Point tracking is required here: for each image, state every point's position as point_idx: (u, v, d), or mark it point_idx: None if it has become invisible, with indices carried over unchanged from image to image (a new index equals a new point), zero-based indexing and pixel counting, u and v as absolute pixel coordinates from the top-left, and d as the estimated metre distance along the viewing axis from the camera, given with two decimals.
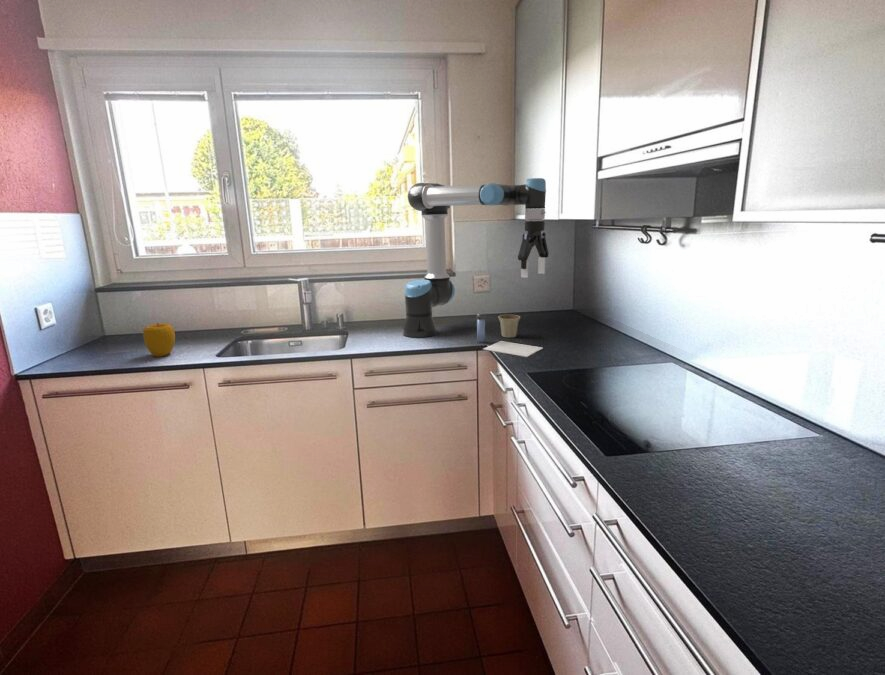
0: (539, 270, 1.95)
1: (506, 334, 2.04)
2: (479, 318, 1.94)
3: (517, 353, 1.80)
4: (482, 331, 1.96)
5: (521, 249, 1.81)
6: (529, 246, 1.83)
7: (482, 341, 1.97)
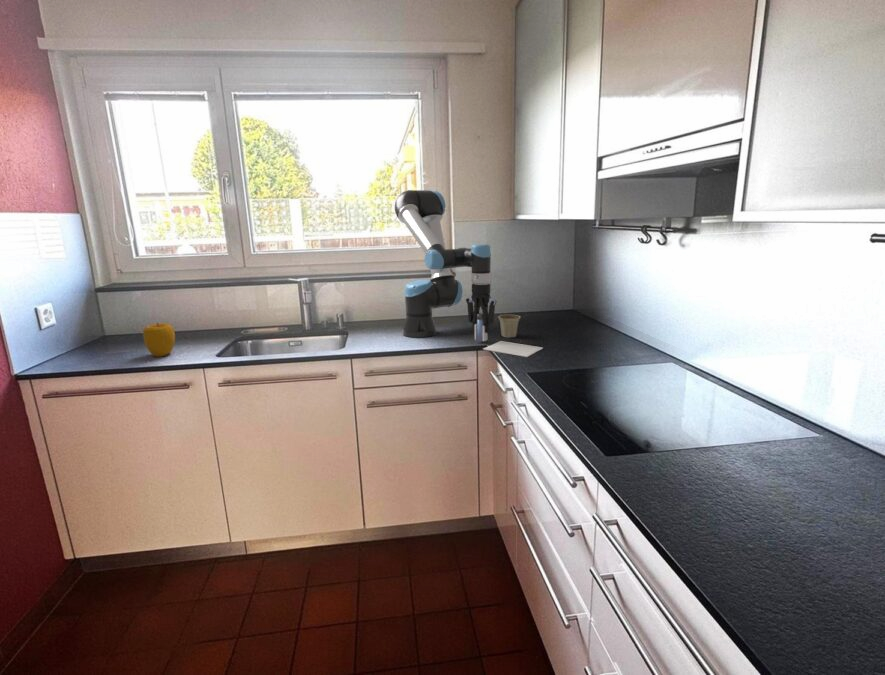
0: None
1: (506, 334, 2.04)
2: (479, 318, 1.94)
3: (517, 353, 1.80)
4: None
5: None
6: None
7: (482, 341, 1.97)
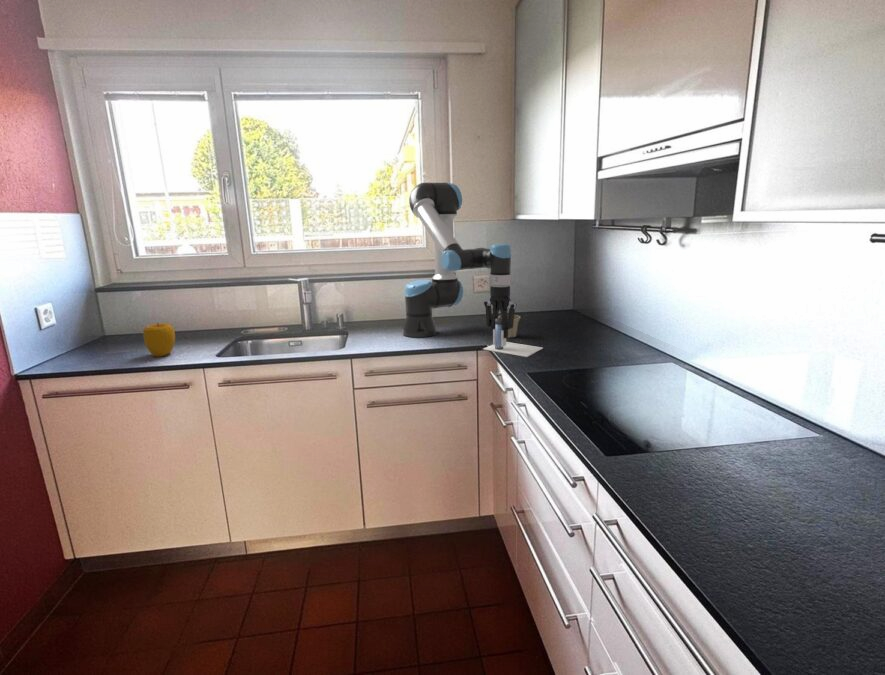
0: None
1: None
2: (497, 323, 1.84)
3: (517, 353, 1.80)
4: (500, 337, 1.85)
5: None
6: None
7: (500, 348, 1.86)
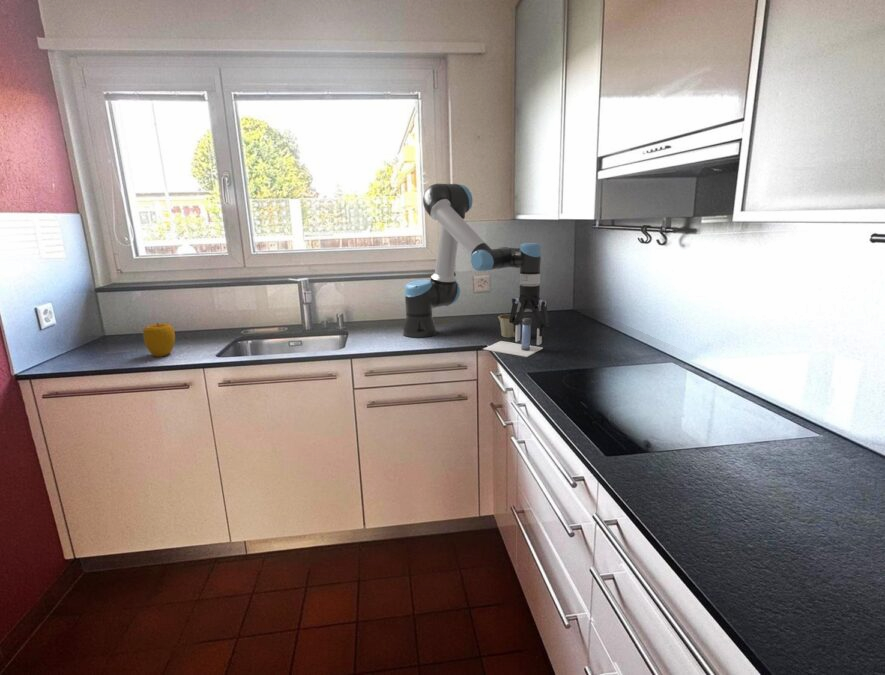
0: None
1: (506, 334, 2.04)
2: (525, 323, 1.81)
3: (517, 353, 1.80)
4: (528, 337, 1.83)
5: None
6: None
7: (527, 348, 1.84)
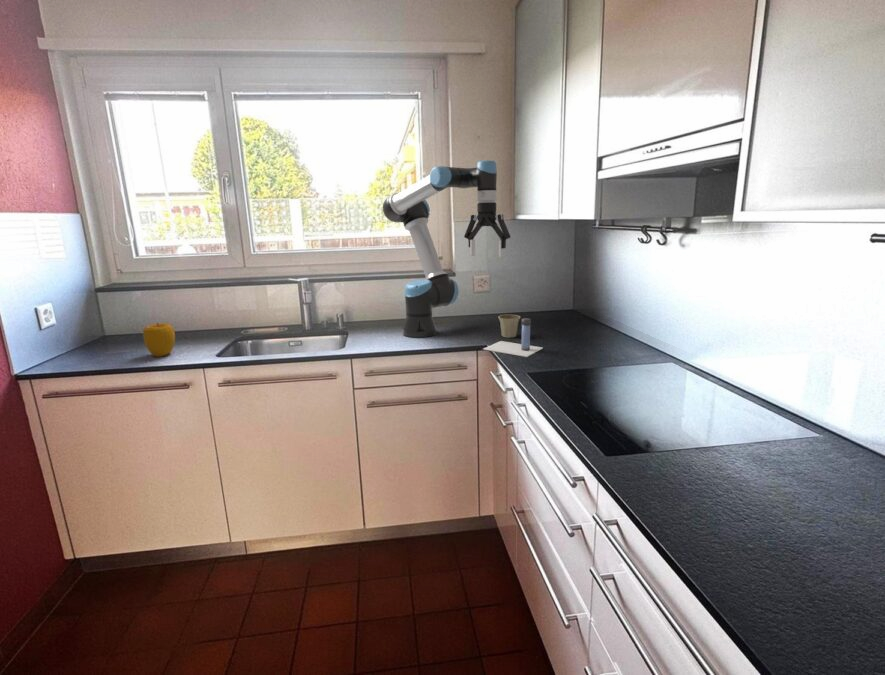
0: None
1: (506, 334, 2.04)
2: (524, 324, 1.81)
3: (517, 353, 1.80)
4: (527, 338, 1.83)
5: None
6: None
7: (527, 349, 1.84)
